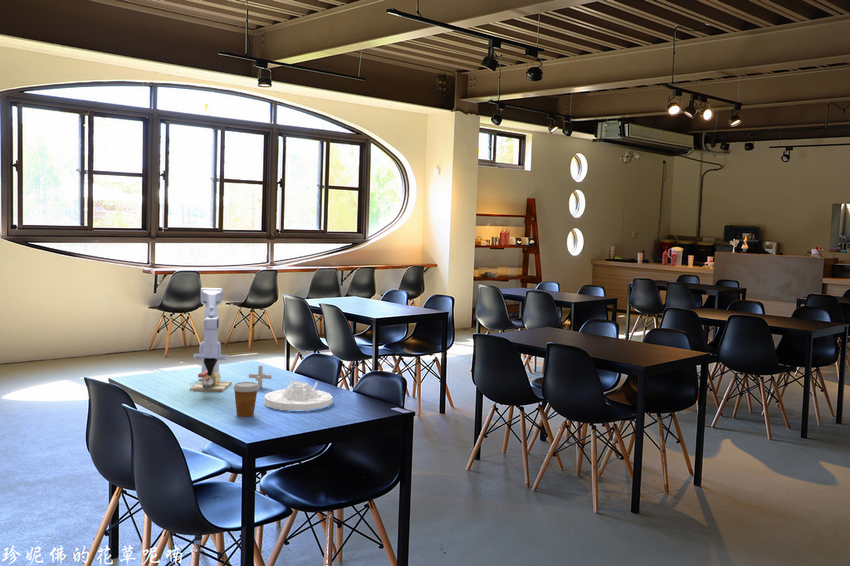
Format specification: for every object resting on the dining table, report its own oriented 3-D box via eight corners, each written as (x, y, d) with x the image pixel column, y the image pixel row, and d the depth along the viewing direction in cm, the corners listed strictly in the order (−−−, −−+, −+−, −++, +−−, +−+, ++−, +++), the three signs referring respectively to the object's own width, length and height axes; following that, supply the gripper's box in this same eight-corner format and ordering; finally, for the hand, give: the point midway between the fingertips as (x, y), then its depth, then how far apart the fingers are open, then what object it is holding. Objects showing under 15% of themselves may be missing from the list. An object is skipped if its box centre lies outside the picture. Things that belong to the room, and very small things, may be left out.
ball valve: (210, 382, 325) (210, 368, 325) (222, 382, 325) (222, 368, 325) (199, 389, 309) (199, 374, 309) (212, 390, 309) (212, 375, 309)
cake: (277, 415, 276) (278, 391, 276) (255, 399, 300) (256, 377, 300) (343, 409, 290) (343, 386, 290) (317, 394, 314) (318, 373, 314)
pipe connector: (268, 390, 317) (268, 368, 316) (246, 389, 317) (246, 367, 316) (273, 385, 327) (274, 364, 326) (252, 384, 327) (252, 363, 326)
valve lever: (209, 370, 318) (209, 367, 318) (215, 371, 318) (215, 367, 318) (198, 377, 303) (198, 374, 303) (204, 377, 303) (204, 374, 303)
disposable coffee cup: (232, 418, 267) (233, 387, 266) (232, 412, 276) (233, 381, 275) (258, 417, 270) (259, 386, 269) (257, 411, 279) (258, 381, 278)
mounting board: (200, 383, 325) (200, 380, 325) (231, 384, 326) (231, 381, 325) (189, 390, 309) (189, 387, 309) (221, 391, 310) (222, 389, 309)
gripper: (191, 345, 304) (190, 376, 305) (225, 347, 304) (224, 378, 305) (196, 343, 311) (195, 373, 312) (229, 344, 311) (228, 374, 312)
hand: (210, 375), depth 309 cm, fingers closed
